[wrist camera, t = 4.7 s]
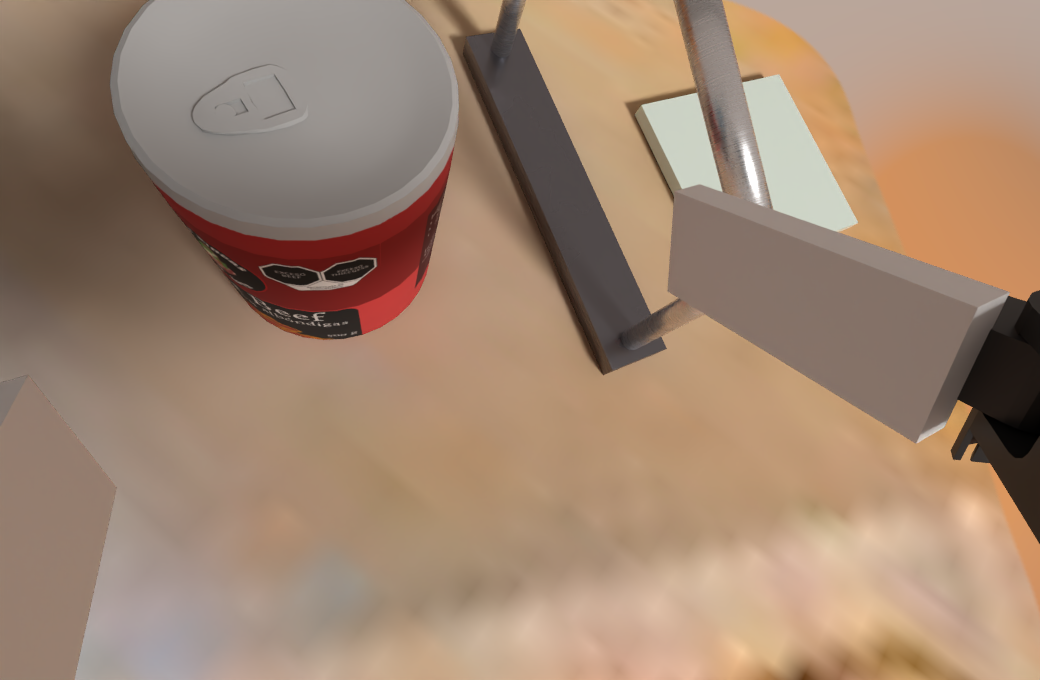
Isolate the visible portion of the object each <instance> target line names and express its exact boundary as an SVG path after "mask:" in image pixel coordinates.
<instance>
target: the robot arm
mask: <svg viewBox="0 0 1040 680" xmlns="http://www.w3.org/2000/svg"><path fill="white" fill-rule="evenodd" d="M668 292H670V293H671V294H673V295H675V296H676V297H678V298H679V299H681V300H683V301H684V302H686V303H688V304H689V305H691V306H692V307H694V308H696V309H697V310H699V311H701V312H702V313H704V314H706V315H707V316H709V317H710V318H712V319H714V320H715V321H717V322H719V323H720V324H722V325H723V326H725V327H727V328H728V329H730V330H732V331H733V332H735V333H737V334H738V335H740V336H741V337H743V338H745V339H746V340H748V341H750V342H751V343H753V344H754V345H756V346H758V347H759V348H761V349H763V350H764V351H766V352H767V353H769V354H771V355H772V356H774V357H776V358H777V359H779V360H781V361H782V362H784V363H785V364H787V365H789V366H790V367H792V368H794V369H795V370H797V371H798V372H800V373H802V374H803V375H805V376H807V377H808V378H810V379H812V380H813V381H815V382H816V383H818V384H820V385H821V386H823V387H825V388H826V389H828V390H829V391H831V392H833V393H834V394H836V395H838V396H839V397H841V398H843V399H844V400H846V401H847V402H849V403H851V404H852V405H854V406H856V407H857V408H859V409H860V410H862V411H864V412H865V413H867V414H869V415H870V416H872V417H873V418H875V419H877V420H878V421H880V422H882V423H883V424H885V425H887V426H888V427H890V428H891V429H893V430H895V431H896V432H898V433H900V434H901V435H903V436H904V437H906V438H908V439H909V440H911V441H913V442H914V443H918V442H920V441H921V440H923V439H925V438H927V437H928V436H930V435H932V434H934V433H935V432H937V431H939V430H941V429H942V428H944V427H945V425H946V423H947V421H948V419H949V417H950V415H951V413H952V410H953V408H954V406H955V404H956V402H957V400H960V401H962V402H964V403H965V404H967V405H969V406H971V407H973V408H972V410H971V412H970V414H969V416H968V418H967V420H966V422H965V424H964V426H963V428H962V430H961V431H960V433H959V435H958V437H957V439H956V441H955V443H954V445H953V447H952V449H951V453H952V457H953V459H954V460H961V458H962V456H963V454H964V452H965V450H966V449H967V447H968V445H969V444H974V443H978V444H977V446H976V447H975V449H974V451H973V453H972V455H971V459H970V460H971V461H973V462H983V463H990V464H991V465H992V467H993V468H994V470H995V472H996V473H997V475H998V476H999V478H1000V480H1001V481H1002V483H1003V485H1004V486H1005V488H1006V490H1007V491H1008V493H1009V495H1010V496H1011V498H1012V499H1013V501H1014V502H1015V504H1016V506H1017V508H1018V509H1019V511H1020V512H1021V514H1022V516H1023V517H1024V519H1025V521H1026V522H1027V524H1028V526H1029V527H1030V529H1031V530H1032V532H1033V534H1034V535H1035V537H1036V539H1037V540H1038V542H1039V543H1040V290H1039V291H1036V292H1034V293H1032V294H1031V295H1030V297H1029V299H1028V301H1027V302H1026V301H1023V300H1020V299H1016V298H1013V297H1010V296H1008V295H1009V292H1008V291H1005V290H1002V289H999V288H996V287H993V286H990V285H987V284H985V283H982V282H979V281H976V280H973V279H970V278H968V277H965V276H962V275H959V274H956V273H953V272H950V271H947V270H944V269H942V268H939V267H936V266H933V265H930V264H927V263H924V262H922V261H918V260H916V259H913V258H910V257H907V256H904V255H902V254H899V253H896V252H893V251H890V250H887V249H884V248H881V247H879V246H876V245H873V244H870V243H867V242H864V241H861V240H859V239H856V238H853V237H850V236H847V235H844V234H841V233H838V232H836V231H833V230H830V229H827V228H824V227H821V226H818V225H815V224H813V223H810V222H807V221H804V220H801V219H798V218H795V217H793V216H790V215H787V214H784V213H781V212H778V211H775V210H772V209H770V208H767V207H764V206H761V205H758V204H755V203H752V202H749V201H747V200H744V199H741V198H738V197H735V196H732V195H729V194H727V193H724V192H721V191H718V190H715V189H712V188H709V187H706V186H704V185H701V184H698V185H695V186H691V187H688V188H684V189H681V190H677V191H675V192H674V207H673V221H672V235H671V250H670V264H669V278H668ZM116 489H117V487H116V486H115V485H114V484H113V482H112V481H111V480H110V478H109V477H108V476H107V475H106V473H105V472H104V471H103V470H102V468H101V467H100V466H99V464H98V463H97V462H96V461H95V459H94V458H93V457H92V455H91V454H90V453H89V452H88V450H87V449H86V448H85V447H84V445H83V444H82V443H81V441H80V440H79V439H78V438H77V436H76V435H75V434H74V433H73V431H72V430H71V429H70V427H69V426H68V425H67V424H66V422H65V421H64V420H63V418H62V417H61V416H60V415H59V413H58V412H57V411H56V410H55V408H54V407H53V406H52V404H51V403H50V402H49V401H48V399H47V398H46V397H45V396H44V394H43V393H42V392H41V390H40V389H39V388H38V387H37V385H36V384H35V383H34V381H33V380H32V379H31V378H30V376H29V375H26V376H22V377H19V378H15V379H12V380H8V381H5V382H1V383H0V680H74V679H75V674H76V670H77V665H78V661H79V656H80V652H81V647H82V643H83V638H84V633H85V629H86V624H87V620H88V615H89V611H90V606H91V602H92V597H93V593H94V588H95V584H96V579H97V575H98V570H99V566H100V561H101V556H102V552H103V547H104V543H105V538H106V534H107V529H108V525H109V520H110V516H111V511H112V507H113V502H114V498H115V493H116Z"/></svg>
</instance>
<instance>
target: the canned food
mask: <svg viewBox="0 0 1040 680" xmlns="http://www.w3.org/2000/svg"><path fill="white" fill-rule="evenodd" d="M110 89H111V96H112V103H113V110H114V114H115V117H116V119H117V121H118V124H119V126H120V128H121V131H122V133H123V135H124V138H125V140H126V142H127V143H128V145H129V146H130V148H131V151H132V153H133V155H134V157H135V159H136V160H137V161H138V163H139V164H140V165H141V167H142V168H143V169H144V171H145V172H146V173H147V175H148V176H149V177H150V179H151V180H152V182H153V184H154V185H155V186H156V188H157V189H158V190H159V192H160V193H161V194H162V195H163V197H164V198H165V199H166V201H167V202H168V203H169V205H170V206H171V207H172V209H173V210H174V211H175V212H176V214H177V215H178V216H179V217H180V219H181V220H182V221H183V222H184V224H185V225H186V226H187V227H188V229H189V230H190V231H191V232H192V234H193V235H194V236H195V238H196V239H197V240H198V241H199V243H200V244H201V245H202V246H203V248H204V249H205V250H206V251H207V253H208V254H209V255H210V256H211V258H212V259H213V260H214V261H215V263H216V264H217V265H218V266H219V268H220V269H221V270H222V271H223V273H224V274H225V275H226V276H227V278H228V279H229V280H230V281H231V283H232V284H233V285H234V286H235V288H236V289H237V290H238V291H239V293H240V294H241V295H242V296H243V298H244V299H245V300H246V302H247V303H248V304H249V305H250V307H251V308H252V309H253V310H254V311H255V312H257V313H258V314H259V315H260V316H261V317H262V318H264V319H265V320H266V321H267V322H269V323H271V324H273V325H275V326H276V327H278V328H280V329H282V330H284V331H286V332H289V333H293V334H296V335H299V336H302V337H307V338H315V339H322V340H327V339H345V338H349V337H354V336H358V335H363V334H365V333H368V332H370V331H373V330H375V329H377V328H380V327H382V326H383V325H385V324H386V323H388V322H389V321H391V320H393V319H394V318H396V317H397V316H398V315H399V314H400V313H401V312H402V311H403V310H404V309H405V308H406V307H407V306H408V305H410V303H411V302H412V300H413V299H414V298H415V296H416V295H417V293H418V292H419V290H420V288H421V286H422V283H423V281H424V279H425V276H426V273H427V269H428V265H429V260H430V256H431V251H432V247H433V242H434V238H435V233H436V229H437V225H438V220H439V216H440V211H441V207H442V202H443V198H444V193H445V189H446V185H447V180H448V176H449V171H450V166H451V161H452V156H453V150H454V144H455V138H456V133H457V128H458V122H459V121H458V111H459V99H458V83H457V79H456V76H455V72H454V69H453V65H452V61H451V59H450V57H449V55H448V53H447V51H446V49H445V47H444V45H443V43H442V42H441V40H440V38H439V36H438V35H437V34H436V32H435V31H434V30H433V29H432V27H431V26H430V25H429V24H428V22H427V21H426V20H425V19H424V17H423V16H422V15H421V14H420V13H418V12H417V11H416V10H415V9H414V8H413V7H412V6H411V5H409V4H408V3H407V2H406V1H405V0H149V1H148V2H147V3H145V4H144V5H143V6H142V7H141V8H140V10H139V11H138V12H137V14H136V15H135V16H134V18H133V19H132V20H131V22H130V23H129V24H128V26H127V27H126V28H125V30H124V32H123V34H122V37H121V39H120V41H119V44H118V46H117V48H116V51H115V53H114V56H113V63H112V71H111V78H110Z"/></svg>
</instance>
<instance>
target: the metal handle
mask: <svg viewBox="0 0 1040 680" xmlns="http://www.w3.org/2000/svg"><path fill="white" fill-rule="evenodd" d="M673 1H674V5H675V8H676V12H677V16H678V20H679V24H680V28H681V32H682V36H683V40H684V44H685V47H686V51H687V55H688V59H689V63H690V67H691V71H692V75H693V79H694V83H695V86H696V90H697V94H698V98H699V102H700V106H701V110H702V114H703V118H704V122H705V125H706V129H707V133H708V137H709V141H710V145H711V149H712V153H713V157H714V161H715V164H716V168H717V172H718V176H719V180H720V184H721V188H722V192H724V193H727V194H729V195H732V196H735V197H738V198H741V199H744V200H747V201H749V202H752V203H755V204H758V205H761V206H764V207H767V208H770V209H772V210H773V206H772V202H771V198H770V194H769V189H768V185H767V181H766V177H765V173H764V169H763V165H762V161H761V157H760V153H759V149H758V145H757V141H756V137H755V132H754V128H753V124H752V120H751V116H750V112H749V108H748V104H747V100H746V96H745V92H744V88H743V84H742V79H741V75H740V71H739V67H738V63H737V59H736V55H735V51H734V47H733V43H732V39H731V35H730V31H729V26H728V22H727V18H726V14H725V10H724V6H723V2H722V0H673ZM525 2H526V0H503V1H502V5H501V9H500V13H499V17H498V21H497V25H496V29H495V33H488V34H481V35H475V36H468V37H466V40H465V45H464V51H463V55H464V57H465V59H466V62H467V64H468V66H469V69H470V71H471V73H472V75H473V78H474V80H475V82H476V85H477V87H478V89H479V92H480V94H481V96H482V98H483V101H484V103H485V105H486V108H487V110H488V112H489V114H490V117H491V119H492V121H493V124H494V126H495V128H496V130H497V133H498V135H499V137H500V140H501V142H502V144H503V147H504V149H505V151H506V153H507V156H508V158H509V160H510V163H511V165H512V167H513V169H514V172H515V174H516V176H517V179H518V181H519V183H520V186H521V188H522V190H523V192H524V195H525V197H526V199H527V202H528V204H529V206H530V208H531V211H532V213H533V215H534V218H535V220H536V222H537V224H538V227H539V229H540V231H541V234H542V236H543V238H544V241H545V243H546V245H547V247H548V250H549V252H550V254H551V257H552V259H553V261H554V263H555V266H556V268H557V270H558V273H559V275H560V277H561V279H562V282H563V284H564V286H565V289H566V291H567V293H568V296H569V298H570V300H571V302H572V305H573V307H574V309H575V312H576V314H577V316H578V318H579V321H580V323H581V325H582V328H583V330H584V332H585V335H586V337H587V339H588V341H589V344H590V346H591V348H592V351H593V353H594V355H595V357H596V360H597V362H598V364H599V367H600V369H601V371H602V373H603V375H605V374H607V373H610V372H612V371H615V370H617V369H620V368H622V367H624V366H627V365H629V364H632V363H634V362H637V361H639V360H642V359H644V358H646V357H649V356H651V355H654V354H656V353H658V352H661V351H663V350H665V349H667V348H666V346H665V344H664V342H663V340H662V337H661V336H663V335H665V334H667V333H669V332H671V331H673V330H675V329H677V328H679V327H681V326H683V325H685V324H687V323H689V322H691V321H693V320H695V319H697V318H698V317H700V316H702V315H704V313H702V312H701V311H699V310H697V309H696V308H694V307H692V306H691V305H689V304H688V303H686V302H684V301H683V300H681V299H679V298H678V299H676V300H674V301H673V302H671V303H669V304H668V305H666V306H664V307H663V308H661V309H660V310H658V311H656V312H655V313H653V314H650V311H649V309H648V307H647V305H646V303H645V300H644V298H643V296H642V294H641V292H640V290H639V287H638V285H637V283H636V281H635V279H634V276H633V274H632V272H631V270H630V268H629V266H628V263H627V261H626V259H625V257H624V255H623V252H622V250H621V248H620V246H619V244H618V242H617V239H616V237H615V235H614V233H613V231H612V228H611V226H610V224H609V222H608V220H607V218H606V215H605V213H604V211H603V209H602V207H601V204H600V202H599V200H598V198H597V196H596V194H595V191H594V189H593V187H592V185H591V183H590V180H589V178H588V176H587V174H586V172H585V170H584V167H583V165H582V163H581V161H580V159H579V156H578V154H577V152H576V150H575V148H574V146H573V143H572V141H571V139H570V137H569V135H568V132H567V130H566V128H565V126H564V124H563V122H562V119H561V117H560V115H559V113H558V111H557V108H556V106H555V104H554V102H553V100H552V98H551V95H550V93H549V91H548V89H547V87H546V84H545V82H544V80H543V78H542V76H541V74H540V71H539V69H538V67H537V65H536V63H535V60H534V58H533V56H532V54H531V52H530V50H529V47H528V45H527V43H526V41H525V39H524V36H523V34H522V32H521V30H520V29H518V26H519V22H520V19H521V16H522V12H523V9H524V6H525Z"/></svg>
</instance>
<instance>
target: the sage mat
mask: <svg viewBox="0 0 1040 680" xmlns="http://www.w3.org/2000/svg"><path fill="white" fill-rule="evenodd" d="M742 84H743V88H744V92H745V96H746V100H747V104H748V108H749V112H750V116H751V120H752V124H753V128H754V132H755V137H756V141H757V145H758V149H759V153H760V157H761V161H762V165H763V169H764V173H765V177H766V181H767V185H768V189H769V194H770V198H771V202H772V206H773V210H775V211H778V212H781V213H784V214H787V215H790V216H793V217H795V218H798V219H801V220H804V221H807V222H810V223H813V224H815V225H818V226H821V227H824V228H827V229H830V230H833V231H836V232H840V231H843V230H845V229H848V228H849V227H851V226H853V225H855V224H857V223H858V221H857V220H856V218H855V216H854V214H853V212H852V210H851V208H850V206H849V205H848V203H847V201H846V199H845V197H844V195H843V193H842V191H841V190H840V188H839V186H838V184H837V182H836V180H835V178H834V176H833V175H832V173H831V171H830V169H829V167H828V165H827V163H826V161H825V160H824V158H823V156H822V154H821V152H820V150H819V148H818V146H817V145H816V143H815V141H814V139H813V137H812V135H811V133H810V131H809V130H808V128H807V126H806V124H805V122H804V120H803V118H802V116H801V115H800V113H799V111H798V109H797V107H796V105H795V103H794V101H793V100H792V98H791V96H790V94H789V92H788V90H787V88H786V86H785V85H784V83H783V81H782V79H781V77H780V75H774V76H770V77H765V78H761V79H756V80H752V81H747V82H743V83H742ZM635 117H636V119H637V121H638V123H639V125H640V127H641V129H642V131H643V133H644V135H645V137H646V139H647V141H648V144H649V146H650V148H651V150H652V152H653V154H654V156H655V158H656V160H657V162H658V164H659V166H660V168H661V171H662V173H663V175H664V177H665V179H666V181H667V183H668V185H669V187H670V189H671V191H672V193H673V195H674V192H675V191H677V190H681V189H684V188H688V187H691V186H695V185H698V184H701V185H704V186H706V187H709V188H712V189H715V190H718V191H721V192H722V188H721V184H720V180H719V176H718V172H717V168H716V164H715V161H714V157H713V153H712V149H711V145H710V141H709V137H708V133H707V129H706V125H705V122H704V118H703V114H702V110H701V106H700V102H699V98H698V94H697V93H693V94H689V95H684V96H680V97H675V98H671V99H666V100H662V101H657V102H653V103H648V104H644V105H641V106H640V108H639V109H638V111H637V112H636V113H635Z"/></svg>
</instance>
